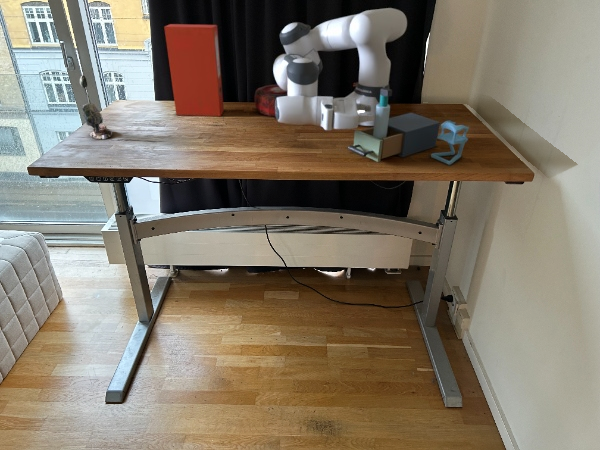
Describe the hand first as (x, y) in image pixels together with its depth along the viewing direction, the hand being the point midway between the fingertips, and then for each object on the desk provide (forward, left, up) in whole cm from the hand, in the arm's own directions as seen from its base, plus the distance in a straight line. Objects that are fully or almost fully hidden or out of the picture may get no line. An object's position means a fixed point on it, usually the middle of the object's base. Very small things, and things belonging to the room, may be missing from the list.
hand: (371, 112), depth 133 cm
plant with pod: (-64, -66, -14) cm, 93 cm away
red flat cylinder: (-54, +2, -14) cm, 56 cm away
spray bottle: (+2, +2, -12) cm, 12 cm away
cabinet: (+2, +16, -14) cm, 21 cm away
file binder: (-69, -26, -14) cm, 75 cm away
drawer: (+2, +2, -13) cm, 13 cm away
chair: (+17, +19, -14) cm, 29 cm away
